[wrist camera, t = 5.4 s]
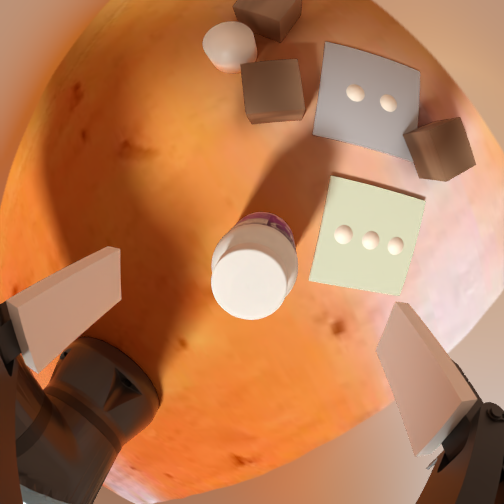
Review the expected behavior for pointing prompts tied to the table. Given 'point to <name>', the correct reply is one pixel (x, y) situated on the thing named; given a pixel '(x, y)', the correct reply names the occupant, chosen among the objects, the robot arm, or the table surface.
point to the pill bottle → (254, 266)
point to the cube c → (440, 149)
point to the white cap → (230, 46)
